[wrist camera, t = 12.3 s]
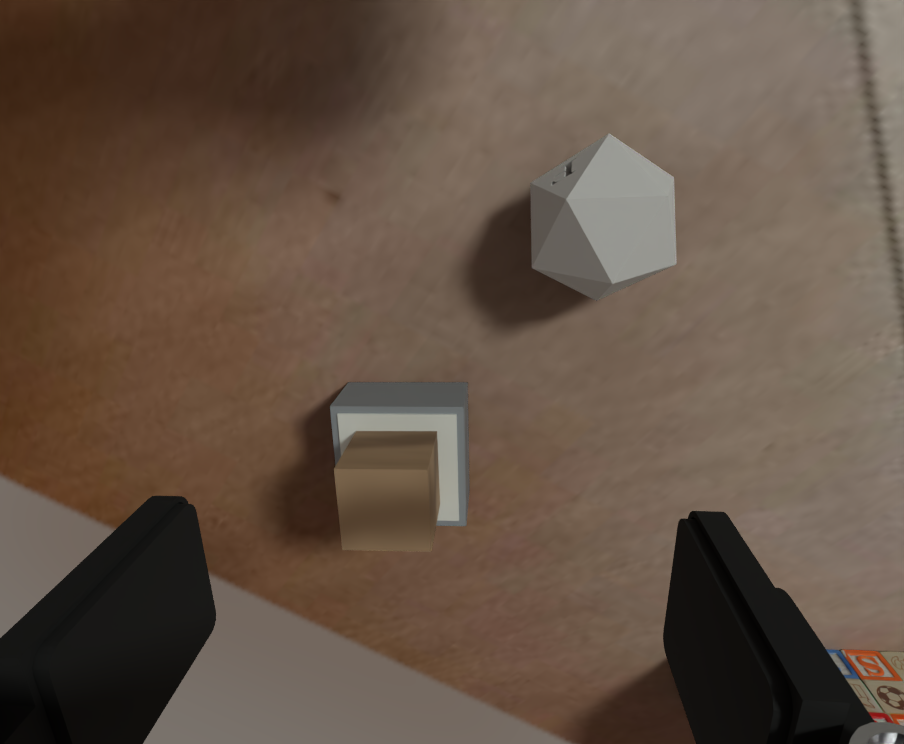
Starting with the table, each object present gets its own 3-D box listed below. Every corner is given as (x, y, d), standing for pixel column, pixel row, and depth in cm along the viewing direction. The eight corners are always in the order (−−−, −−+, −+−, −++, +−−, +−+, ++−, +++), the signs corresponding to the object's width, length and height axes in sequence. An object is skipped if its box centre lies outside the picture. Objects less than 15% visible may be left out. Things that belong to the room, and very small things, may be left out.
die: (669, 150, 37) (612, 80, 29) (719, 273, 35) (673, 235, 27) (556, 214, 42) (480, 170, 34) (594, 327, 40) (523, 308, 32)
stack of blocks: (957, 651, 46) (1113, 807, 35) (939, 710, 48) (1081, 877, 36) (686, 641, 48) (747, 787, 36) (679, 699, 50) (735, 856, 38)
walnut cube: (356, 431, 38) (333, 468, 33) (437, 431, 38) (427, 469, 33) (362, 503, 40) (342, 549, 35) (440, 503, 40) (431, 551, 34)
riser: (348, 382, 43) (329, 407, 38) (467, 382, 42) (463, 407, 37) (357, 488, 46) (340, 524, 41) (469, 490, 45) (466, 527, 40)
